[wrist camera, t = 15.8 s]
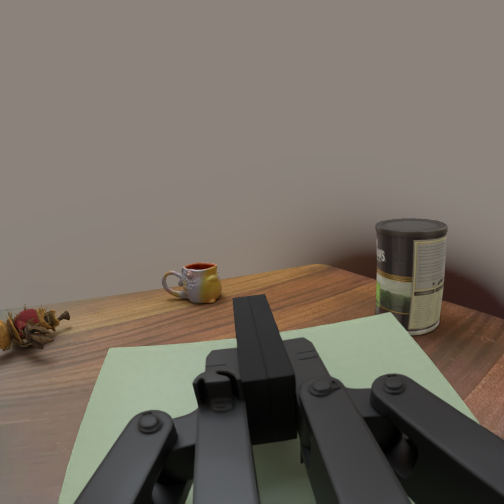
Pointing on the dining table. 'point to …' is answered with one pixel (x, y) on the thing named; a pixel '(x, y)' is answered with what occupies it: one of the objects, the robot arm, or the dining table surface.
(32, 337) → the scarecrow
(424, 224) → the coffee can
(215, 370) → the robot arm
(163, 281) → the mug
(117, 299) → the dining table surface
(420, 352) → the lid
